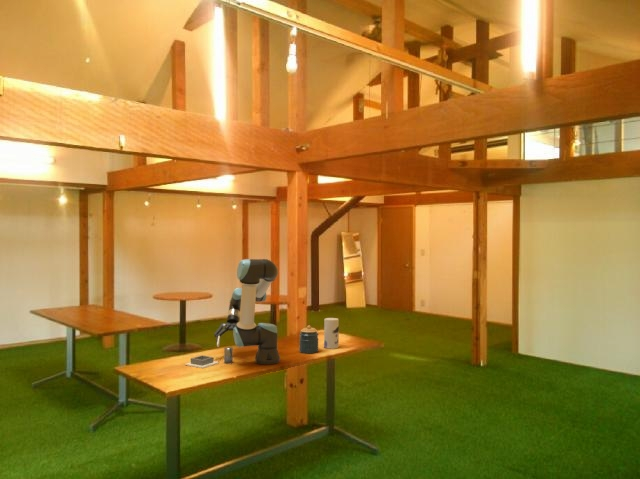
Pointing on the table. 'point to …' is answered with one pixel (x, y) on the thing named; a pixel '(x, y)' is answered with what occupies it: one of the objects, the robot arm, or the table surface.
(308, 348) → the canister
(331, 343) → the container
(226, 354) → the glossy bronze cylinder
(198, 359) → the square socket
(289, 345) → the table surface
